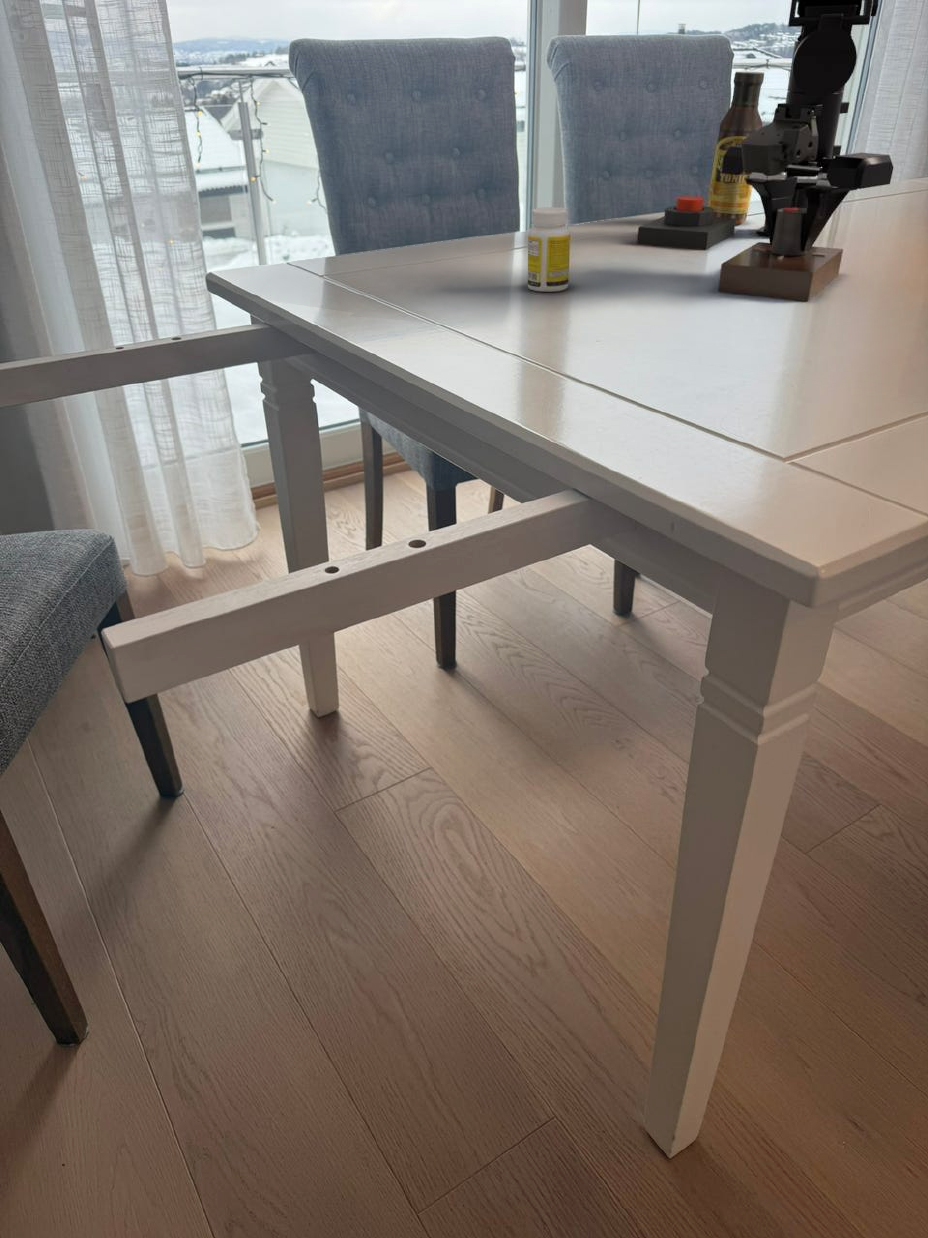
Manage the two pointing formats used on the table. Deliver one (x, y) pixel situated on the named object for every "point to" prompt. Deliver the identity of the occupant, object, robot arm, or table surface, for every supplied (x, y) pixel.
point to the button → (689, 203)
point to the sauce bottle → (739, 122)
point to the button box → (686, 229)
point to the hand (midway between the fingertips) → (789, 247)
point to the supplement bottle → (548, 250)
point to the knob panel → (779, 272)
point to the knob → (789, 231)
